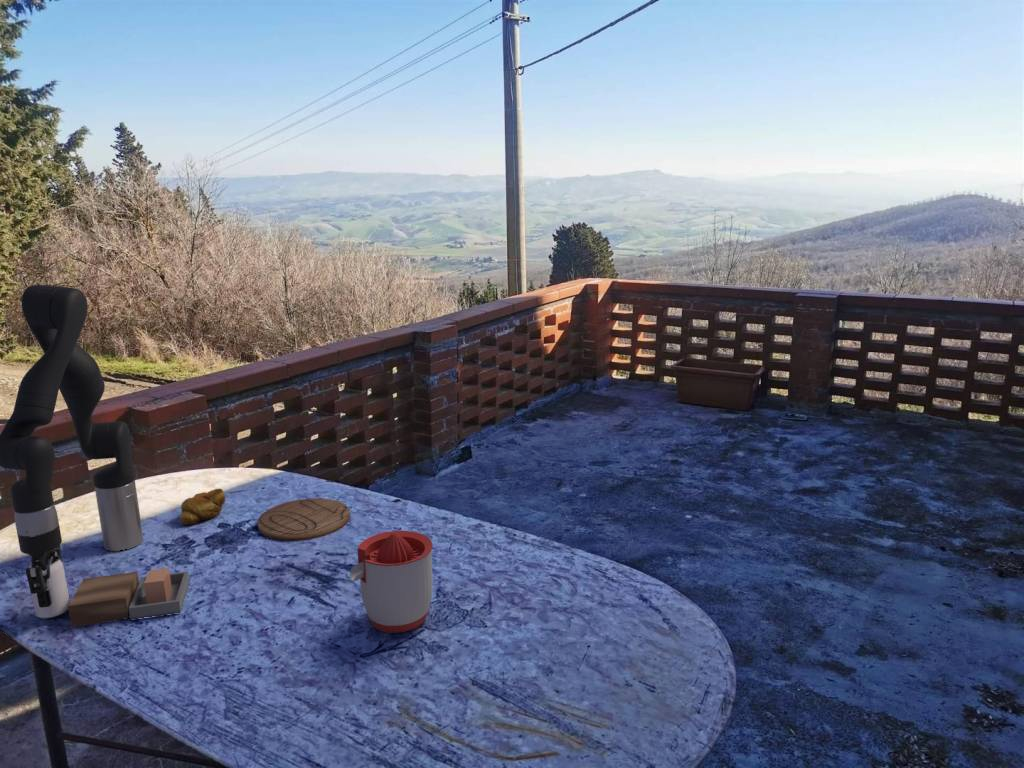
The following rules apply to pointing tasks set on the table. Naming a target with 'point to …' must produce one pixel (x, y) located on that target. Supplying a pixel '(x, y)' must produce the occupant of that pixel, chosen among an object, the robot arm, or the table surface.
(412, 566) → the citrus juicer
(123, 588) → the brown wooden block
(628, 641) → the table surface
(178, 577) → the box
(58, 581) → the can
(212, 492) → the bread roll
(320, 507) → the trivet
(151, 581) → the small tan cube
